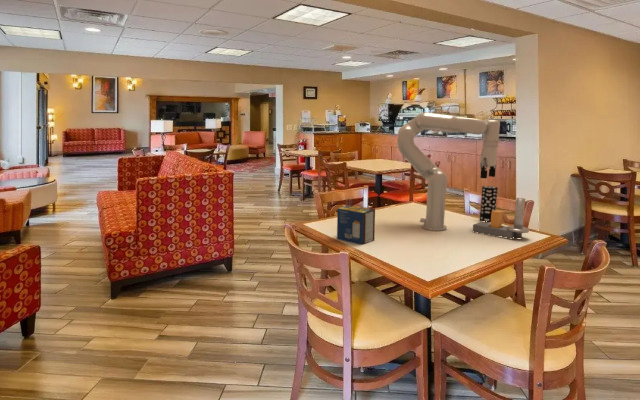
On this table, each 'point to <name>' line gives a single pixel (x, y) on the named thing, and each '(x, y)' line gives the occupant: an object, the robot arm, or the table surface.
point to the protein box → (355, 224)
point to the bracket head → (492, 230)
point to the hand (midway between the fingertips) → (487, 177)
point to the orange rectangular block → (496, 219)
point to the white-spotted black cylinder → (488, 202)
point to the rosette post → (518, 219)
